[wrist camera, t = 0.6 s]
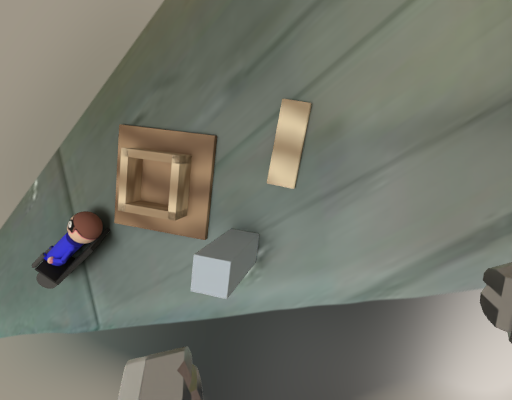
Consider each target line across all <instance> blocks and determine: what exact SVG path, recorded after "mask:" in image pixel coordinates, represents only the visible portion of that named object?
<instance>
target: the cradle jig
mask: <svg viewBox="0 0 512 400" xmlns="http://www.w3.org/2000/svg"><path fill="white" fill-rule="evenodd" d="M216 142H217V136H213V135H204V134H196V133H187V132H179V131H171V130H162V129H154V128H145V127H137V126H128V125H120V124H119V143H118V163H117V183H116V202H115V222H114V223H118V224H123V225H128V226H134V227H139V228H144V229H149V230H155V231H160V232H165V233H170V234H176V235H181V236H186V237H192V238H197V239H202V240H206V239H207V235H208V225H209V214H210V204H211V194H212V183H213V173H214V163H215V152H216Z"/></svg>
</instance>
